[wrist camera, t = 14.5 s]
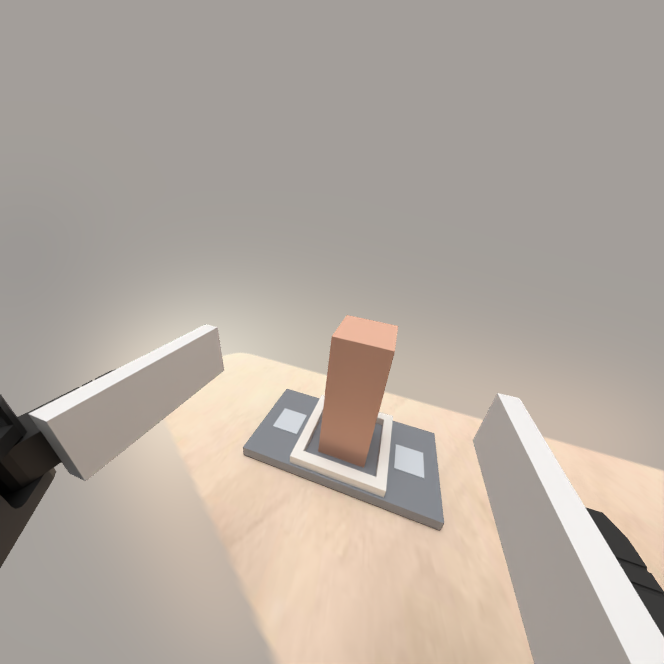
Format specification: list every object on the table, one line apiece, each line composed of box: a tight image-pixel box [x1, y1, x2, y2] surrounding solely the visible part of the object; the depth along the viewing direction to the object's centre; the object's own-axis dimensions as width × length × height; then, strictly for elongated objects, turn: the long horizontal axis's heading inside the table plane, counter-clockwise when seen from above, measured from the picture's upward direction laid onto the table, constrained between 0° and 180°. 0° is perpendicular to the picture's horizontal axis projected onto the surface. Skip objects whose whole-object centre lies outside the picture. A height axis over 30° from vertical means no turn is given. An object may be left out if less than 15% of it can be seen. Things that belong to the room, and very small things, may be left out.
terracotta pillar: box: [318, 315, 398, 468], centre depth 24 cm, size 5×5×14 cm
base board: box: [243, 389, 444, 530], centre depth 27 cm, size 20×10×2 cm, turn 73°
